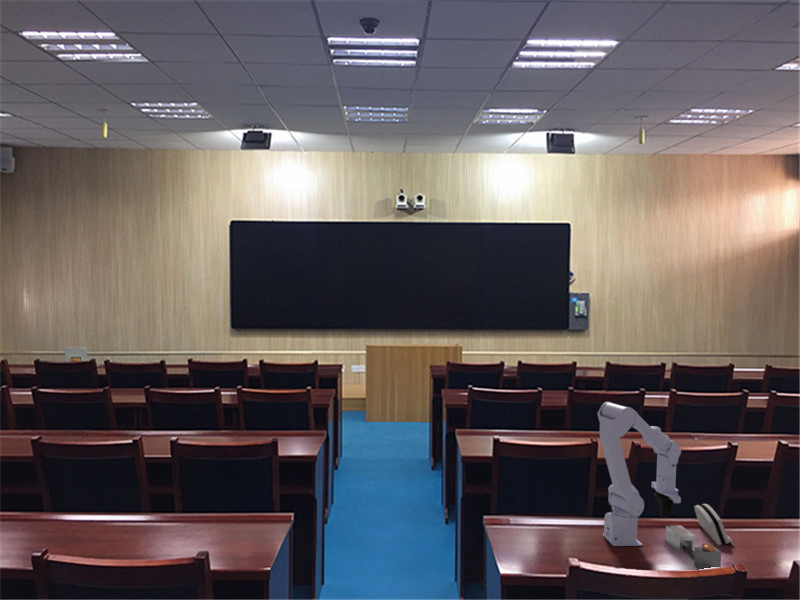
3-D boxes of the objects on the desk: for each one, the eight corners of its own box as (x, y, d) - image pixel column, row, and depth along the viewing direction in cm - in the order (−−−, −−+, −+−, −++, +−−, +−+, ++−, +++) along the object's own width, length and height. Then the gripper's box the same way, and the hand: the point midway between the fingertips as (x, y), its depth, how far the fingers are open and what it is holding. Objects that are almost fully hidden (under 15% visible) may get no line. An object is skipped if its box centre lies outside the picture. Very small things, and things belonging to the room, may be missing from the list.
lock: (665, 541, 184) (666, 525, 184) (680, 540, 185) (680, 525, 185) (679, 552, 176) (680, 536, 176) (694, 552, 177) (695, 536, 177)
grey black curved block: (735, 546, 182) (724, 515, 182) (719, 550, 182) (709, 519, 183) (714, 524, 198) (705, 496, 198) (700, 528, 199) (691, 500, 199)
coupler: (700, 570, 165) (701, 548, 165) (679, 553, 175) (680, 532, 175) (720, 570, 165) (721, 548, 165) (698, 553, 176) (699, 532, 176)
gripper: (690, 483, 183) (689, 525, 183) (666, 468, 197) (664, 508, 198) (669, 483, 182) (667, 526, 183) (646, 468, 197) (644, 508, 197)
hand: (664, 516), depth 190 cm, fingers closed
